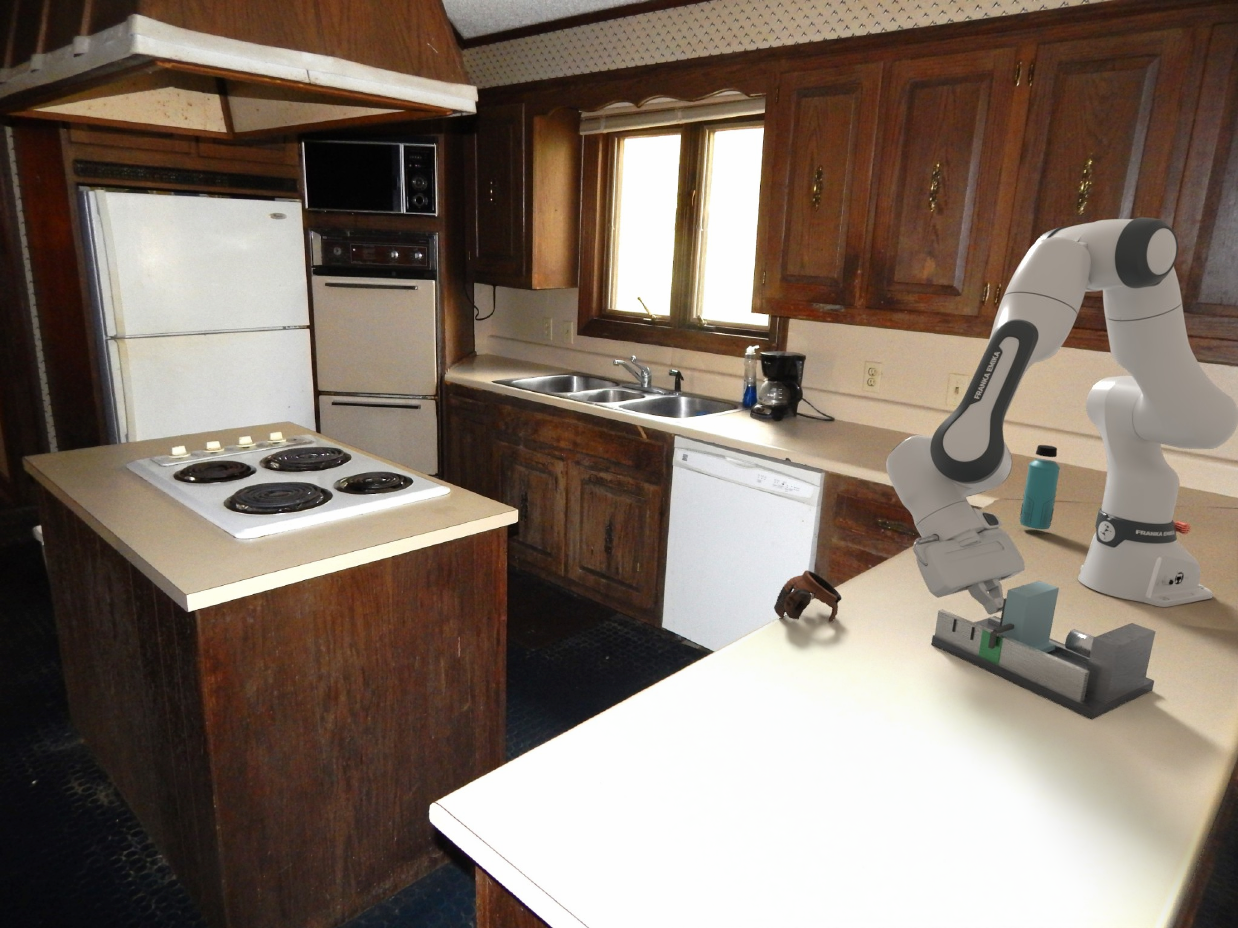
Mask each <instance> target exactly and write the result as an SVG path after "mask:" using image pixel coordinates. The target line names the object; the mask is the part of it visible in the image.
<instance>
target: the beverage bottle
mask: <svg viewBox="0 0 1238 928" xmlns="http://www.w3.org/2000/svg"><path fill="white" fill-rule="evenodd" d="M1057 451H1058V447H1056V446H1053V445H1047V444H1039V445H1037V447H1036V451H1035V455H1037V456H1041V457H1047V458H1057V454H1058V453H1057ZM1060 469H1061V467H1060V465H1059V464H1058V463H1057V462H1056V461H1054V460H1050V459H1045V458H1043V459H1042V458H1035V459H1033V460H1032V461H1030V462H1029V463H1028V470H1027V476H1026V484H1025V485H1024V493H1023V495H1022V496H1023V497H1022V504H1021V507H1020V509H1021V510H1020V517H1019V520H1020V521H1019V522H1020V525H1021V526H1023V527H1027V528H1030V529H1035V530H1048V529H1050V527H1051V526H1052V520H1053V516H1054V510H1055V508H1054V507H1055V503H1056V502H1055V501H1056V496H1057V490H1058V489H1057V486H1058V480H1059V475H1060Z"/></svg>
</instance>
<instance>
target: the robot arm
mask: <svg viewBox="0 0 1238 928" xmlns="http://www.w3.org/2000/svg"><path fill="white" fill-rule="evenodd" d="M1178 254H1179V241H1178V236H1177V234H1176V232H1175V231H1174V229H1173V227H1171V226H1170V225H1169V224H1168V223H1167V222H1166V221H1165V220H1163V219H1159V218H1154V217H1142V216H1141V217H1137V218H1134V219H1133V218H1131V219H1130V218H1129V219H1128V218H1117V219H1116V218H1114V219H1112V218H1111V219H1101V220H1097V221H1094V222H1086V223H1082V224H1077V225H1072V226H1060V227H1057V228H1054V229H1051V230H1049V231H1047V232H1045V233H1043V234H1042V235H1040V237H1039V238H1038V239H1037V240H1036V241H1035V242H1034V244H1032V246H1031V247H1030V248H1029V249H1028V251H1027V252H1026V254H1025V255H1024V257H1023V258H1022V259H1021V262H1020V263H1019V264H1018V266H1017V268H1016V270H1015V272H1014V273H1013V275H1012V277H1011V279H1010V281H1009V283H1008V286H1007V288H1006V290H1005V292H1004V294H1003V296H1002V299H1001V302H1000V303H999V307H998V310H997V313H996V315H995V318H994V322H993V326H992V328H991V329H992V330H991V333H990V336H989V340H988V342H987V346H986V348H985V351H984V352H983V355H982V357H981V360H980V362H979V364H978V366H977V368H976V369H975V373H974V374H973V376H972V378H971V381H970V383H969V386H968V387H967V389H966V391H965V394H964V396H963V398H962V400H961V402H960V403H959V404H958V406H957V407H956V408H955V409H954V411H953V412H951V414H950V415H949V416H948V417H946V418H945V420H944V421H942V423H940V424H939V426H938V427H937V428H936V430H935V432H934V433H933V435H931V436H930V435H929V436H927V435H921V434H915V435H912V436H910V437H908V438H905V439H904V440H902V441H900V442H899V443H898V444H897V445H896V446H895V447H894V448H893V449H892V450H891V451H890V453H889V454H888V456H887V459H886V463H885V465H886V471H887V475H888V478H889V480H890V482H891V484H892V486H893V489H894V490H895V493H896V494H897V496H898V498H899V500H900V502H901V503H902V505H903V506H904V508H906V509H907V510H908V511H909V513H910V514H911V515H912V516H911V517H912V519H913V522H914V526H915V528H916V530H917V532H918V533H919V535H920V536H921V537H917V538H916V539H915V540H914V542H913V547H912V550H913V551H912V552H913V553H914V555H915V556H916V557H915V561H916V564H917V567H918V569H919V572H920V574H921V577H922V578H923V581H924V583H925V585H926V587H927V590H928V591H929V592H930V594H932V595H933V596H934V597H935V598H942V597H945V596H950V595H954V594H957V593H961V592H964V591H968V592H969V594H970V596H971V598H972V599H974V600H975V601H977V602H978V603H979V604H981V605H982V607H983V608H984V610H985V611H986V613H987V614H988V615H993V614H997V613H999V612H1000V613H1002V609H1003V603H1004V599H1005V598H1004V593H1003V586H1002V584H1001V581H1005V580H1007V579H1011V578H1013V577H1015V576H1017V575H1019V574H1020V573H1023V572H1024V571H1025V567H1026V566H1025V561H1024V558H1023V557H1022V555H1021V553H1020V551H1019V549H1018V548H1017V546H1016V545H1015V542H1014V541H1013V540H1012V538H1011V537H1010V535H1009V534H1008V533H1007V532H1006V531H1005V530H1004V529H1002V528H1000V527H1002V525H1003V522H1002V520H1001V517H1000V516H998V515H997V514H996V513H991V512H988V511H985V510H981V509H978V508H975V507H972V506H971V504H970V502H969V500H968V499H967V498H968V497H972V496H975V495H978V494H982V493H984V492H987V491H988V492H989V491H991V490H993V489H995V488H997V487H999V486H1001V485H1002V484H1004V482H1005V481H1006V480H1007V479H1008V477H1009V476H1010V474H1011V472H1012V467H1013V457H1012V454H1011V451H1010V449H1009V447H1008V445H1007V443H1006V442H1005V438H1004V422H1005V418H1006V416H1007V413H1008V412H1009V409H1010V407H1011V404H1012V402H1013V400H1014V398H1015V395H1016V393H1017V391H1018V389H1019V387H1020V385H1021V382H1022V380H1023V378H1024V376H1025V374H1026V373H1027V371H1028V370H1029V369H1030V367H1032V366H1033V365H1034V364H1036V363H1041V362H1044V361H1046V360H1049V359H1051V358H1053V357H1054V356H1056V354H1057V353H1058V352H1059V350H1060V349H1061V347H1062V346H1063V345H1064V343H1065V341H1066V339H1067V338H1068V336H1069V335H1070V332H1071V330H1072V329H1073V326H1074V324H1075V321H1076V319H1077V317H1078V314H1079V312H1080V309H1081V306H1082V304H1083V301H1084V298H1085V294H1086V292H1100V291H1102V301H1103V311H1104V317H1105V323H1106V330H1107V331H1106V332H1107V336H1108V343H1109V348H1110V349H1109V350H1110V354H1111V356H1112V358H1113V360H1114V361H1115V362H1116V364H1117V365H1119V367H1121V368H1122V369H1123V370H1125V371H1126V372H1127V373H1129V375H1119V376H1108V377H1104V378H1102V379H1099V381H1097V382H1096V383H1095V384H1094V385H1093V386H1092V388H1091V389H1090V391H1089V392H1088V394H1087V398H1086V402H1085V409H1086V414H1087V417H1088V419H1089V420H1090V421H1091V423H1093V425H1094V426H1095V427H1096V429H1097V431H1098V432H1099V435H1100V437H1101V440H1102V444H1103V448H1104V451H1105V455H1106V464H1107V465H1106V466H1107V467H1106V468H1107V469H1106V470H1107V471H1106V478H1105V487H1104V494H1103V499H1102V505H1101V507H1100V508H1099V509H1098V511H1097V514H1096V517H1095V518H1096V520H1095V526H1094V527H1095V531H1096V532H1095V533H1094V534H1093V537H1092V539H1091V543H1090V545H1089V548H1088V550H1087V551H1088V552H1087V554H1086V558H1085V561H1084V563H1083V564H1081V565H1080V568H1079V569H1080V573H1079V574H1078V576H1077V580H1078V581H1079V582H1080V583H1081V584H1082V585H1084V586H1086V587H1087V588H1090V589H1091V590H1093V591H1097V592H1099V593H1102V594H1105V595H1108V596H1112V597H1116V598H1119V599H1124V600H1127V601H1129V600H1131V601H1134V602H1140V603H1145V604H1147V605H1152V606H1156V607H1161V608H1167V607H1171V606H1172V607H1173V606H1178V605H1183V604H1189V603H1194V602H1199V601H1204V600H1209V599H1213V596H1214V593H1213V592H1212V590H1210V589H1209V588H1208V587H1206V586H1204V585H1202V584H1201V583H1200V581H1201V579H1200V578H1201V565H1200V563H1199V561H1198V560H1197V559H1196V558H1195V557H1194V556H1193V555H1192V554H1191V553H1190V552H1189V551H1188V550H1187V549H1186V548H1185V547H1183V546H1182V544H1180V542H1179V541H1177V533H1180V534H1182V535H1187V534H1189V532H1191V529H1192V528H1191V525H1190V524H1189V523H1187V522H1183V521H1180V520H1178V521H1176V522H1175V521H1174V520H1173V516H1174V512H1175V509H1176V508H1175V507H1176V504H1177V499H1178V495H1179V494H1178V493H1179V489H1180V484H1181V483H1180V478H1179V475H1178V473H1177V472H1176V471H1175V470H1174V469H1173V467H1171V465H1170V464H1169V463H1168V461H1166V459H1165V456H1164V453H1163V451H1162V445H1164V446H1168V447H1174V448H1178V449H1183V450H1184V449H1185V450H1214V449H1216V448H1217V449H1218V448H1219V447H1221V446H1223V445H1224V444H1225V443H1226V442H1228V440H1230V438H1231V437H1232V436H1233V435H1234V433H1235V431H1236V430H1237V428H1238V406H1237V404H1236V401H1235V400H1234V399H1233V397H1231V396H1230V395H1229V394H1227V393H1226V392H1225V391H1223V390H1222V389H1220V388H1219V387H1218V386H1217V385H1216V384H1215V383H1214V382H1213V381H1212V380H1211V379H1210V377H1209V376H1208V375H1207V374H1206V372H1205V371H1204V369H1203V368H1202V367H1201V365H1200V363H1199V361H1198V360H1197V358H1196V356H1195V355H1194V352H1193V350H1192V348H1191V346H1190V342H1189V337H1188V333H1187V328H1186V323H1185V321H1186V320H1185V314H1184V307H1183V300H1182V293H1181V289H1180V288H1181V287H1180V283H1179V280H1178V276H1177V273H1176V269H1175V264H1176V262H1177V259H1178V256H1179V255H1178Z"/></svg>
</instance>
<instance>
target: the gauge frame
mask: <svg viewBox="0 0 1238 928" xmlns="http://www.w3.org/2000/svg"><path fill="white" fill-rule="evenodd" d="M1000 620H1001V617H999V616H996V615H994V616H990V617H987V618H984V619H981V620H977V621H975V622H974V621H971V620H969V619H967V618H964V617H962V616H960V615H957V614H955V613H952V612H950V611H947V610H945V609H938V611H937V617H936V625H935V631H934V634H933V635H932V637H931V646H933V647H935V648H938V649H940V650H942V651H944V652H946V653H948V654H951V655H953V656H955V657H957V658H959V659H961V660H963V661H966V662H967V663H969V664H972V665H973V666H975V667H978V668H980V669H982V670H985V671H987V672H989V673H990V674H993V675H994V676H997V677H999V678H1001V679H1003V680H1006V681H1008V682H1010V683H1012V684H1013V685H1016V686H1019V687H1021V688H1023V689H1024V690H1027V691H1029V692H1031V693H1033V694H1035V695H1037V696H1039V697H1042V698H1045V699H1046V700H1049V701H1050V702H1053V703H1055V704H1057V705H1059V706H1061V707H1063V708H1066V709H1068V710H1070V711H1072V712H1074V713H1076V714H1079V716H1080V715H1081V716H1082V717H1085V718H1086V719H1089V720H1091V721H1092V720H1094V719H1096V718H1098V717H1100V716H1102V715H1105V714H1106V713H1109V712H1110V711H1113V710H1115V709H1117V708H1120V707H1121V706H1123V705H1126V704H1127V703H1129V702H1131V701H1134V700H1135V699H1137V698H1140V697H1142V696H1144V695H1145V694H1148V693H1150V692H1152V691H1153V689H1154V684H1155V680H1154V679H1152V678H1150V677H1147V673H1148V669H1149V662H1150V659H1151V654H1152V651H1153V645H1154V641H1155V635H1156V631H1155V630H1154V629H1150V628H1147V627H1145V626H1141V625H1139V624H1136V623H1135V622H1134V623H1133V622H1131V623H1128V624H1126V625H1123V626H1120V627H1118V628H1115V629H1112V630H1110V631H1107V632H1104V633H1101V634H1098V635H1097V636H1094V635H1091V634H1089V633H1086V632H1083V631H1080V630H1078V629H1076V628H1075V629H1074V628H1073V629H1071V630H1070V631H1069V632H1068V634H1067V636H1066V638H1065V643H1064V642H1063V643H1062V642H1060V641H1058V640H1055V639H1053V638H1051V637H1050V639H1049V642H1050V643H1053V644H1055V650H1052V651H1050V652H1047V653H1045V652H1043V651H1040V650H1038V649H1036V648H1033V647H1031V646H1028V645H1026V644H1024V643H1021V642H1019V641H1017V640H1014V639H1012V638H1009V637H1007V636H1005V635H1002V634H997V637H996V642H995V648H994V649H991V648H989V647H988V645H989V639H990V633H991V631H993V629H995V628H998V627H999V626H1000Z"/></svg>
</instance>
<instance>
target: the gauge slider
mask: <svg viewBox="0 0 1238 928" xmlns="http://www.w3.org/2000/svg"><path fill="white" fill-rule="evenodd" d="M1059 588H1060V587H1057V586H1055V585H1052V584H1049V583H1046V582H1044V581H1041V580H1038V581H1034V582H1030V583H1026V584H1023V585H1020V586H1016V587H1014V588H1009V589H1007V592H1006V597H1005V598H1004V603H1003V609H1002V611H1001V616H1000V618H1001V620H1000V626H999V627H998V628H995V629H993V631H991V633H990V639H989V645H988V647H989V648H991V649H994V648H995V642H996V637H997V634H1002V635H1005V636H1007V637H1009V638H1012V639H1014V640H1017V641H1019V642H1021V643H1024V644H1026V645H1028V646H1031V647H1033V648H1036V649H1038V650H1040V651H1043V652H1045V653H1047V652H1050V651H1052V650H1055V644H1053V643H1050V642H1049V639H1050V638H1051V632H1052V627H1053V623H1054V616H1055V610H1056V606H1057V600H1058V596H1059V595H1058V594H1059Z"/></svg>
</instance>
